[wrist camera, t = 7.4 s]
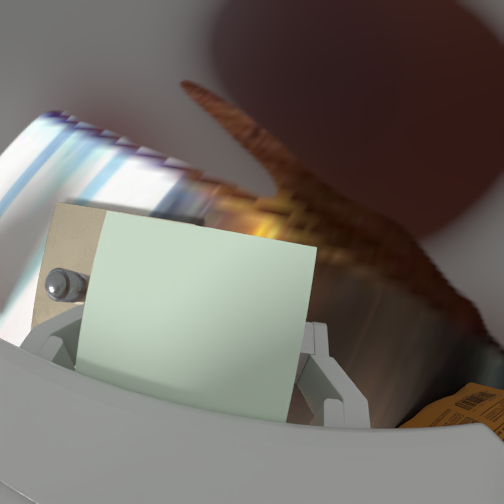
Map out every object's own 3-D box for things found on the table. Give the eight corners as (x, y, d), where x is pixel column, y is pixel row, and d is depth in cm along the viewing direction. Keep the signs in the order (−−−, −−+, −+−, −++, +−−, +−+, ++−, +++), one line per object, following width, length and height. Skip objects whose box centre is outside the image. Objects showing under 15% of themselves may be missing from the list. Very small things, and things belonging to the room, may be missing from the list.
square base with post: (196, 226, 27) (177, 190, 18) (167, 390, 24) (134, 424, 16) (61, 204, 27) (9, 170, 18) (33, 346, 24) (-26, 353, 16)
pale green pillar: (278, 285, 17) (317, 247, 8) (260, 386, 16) (276, 462, 7) (177, 266, 17) (107, 210, 8) (159, 365, 16) (72, 409, 7)
